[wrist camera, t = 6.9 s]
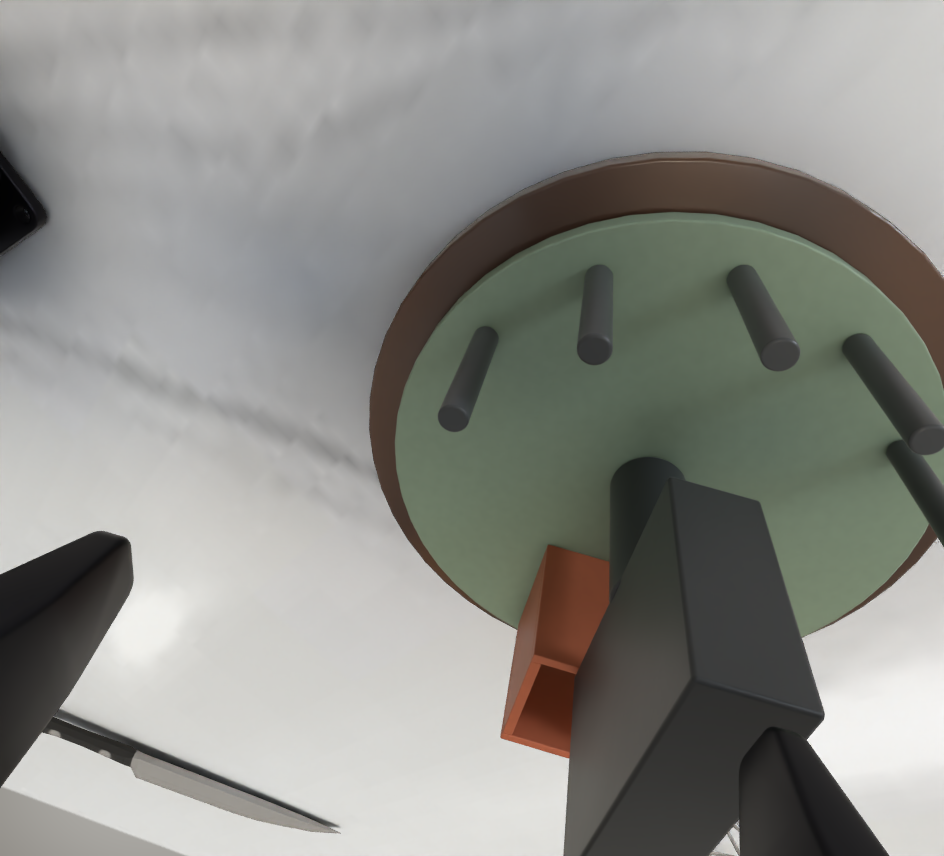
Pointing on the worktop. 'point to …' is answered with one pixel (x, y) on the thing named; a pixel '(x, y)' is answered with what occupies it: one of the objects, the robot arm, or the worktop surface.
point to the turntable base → (644, 192)
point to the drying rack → (668, 496)
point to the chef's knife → (184, 779)
